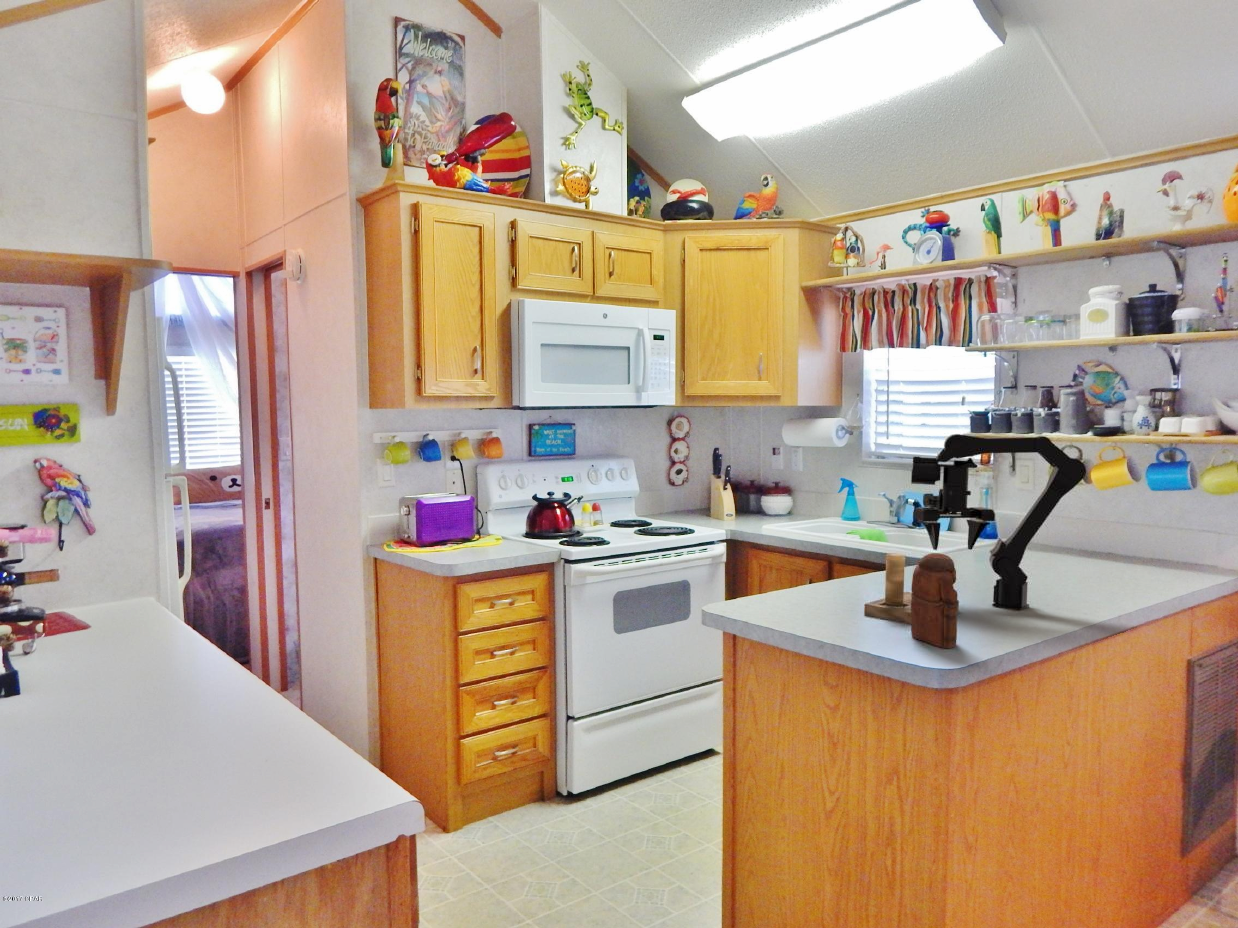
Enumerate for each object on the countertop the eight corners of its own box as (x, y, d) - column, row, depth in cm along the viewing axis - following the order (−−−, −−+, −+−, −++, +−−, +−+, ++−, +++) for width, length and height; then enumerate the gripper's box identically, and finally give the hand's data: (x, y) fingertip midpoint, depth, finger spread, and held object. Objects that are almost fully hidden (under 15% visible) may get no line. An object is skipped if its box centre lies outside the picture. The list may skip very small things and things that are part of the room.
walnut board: (958, 610, 202) (958, 600, 202) (918, 625, 188) (918, 613, 188) (906, 601, 211) (906, 591, 211) (864, 614, 197) (864, 603, 197)
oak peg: (906, 615, 197) (907, 554, 196) (897, 618, 194) (899, 556, 193) (890, 612, 200) (891, 552, 199) (881, 615, 197) (882, 554, 196)
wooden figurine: (968, 647, 171) (971, 557, 170) (942, 650, 168) (945, 559, 167) (926, 632, 182) (929, 548, 181) (902, 635, 179) (905, 549, 178)
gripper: (971, 482, 219) (969, 543, 220) (903, 482, 216) (900, 544, 217) (998, 487, 208) (995, 551, 209) (926, 486, 205) (923, 552, 206)
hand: (952, 549), depth 211 cm, fingers open, 9 cm apart
